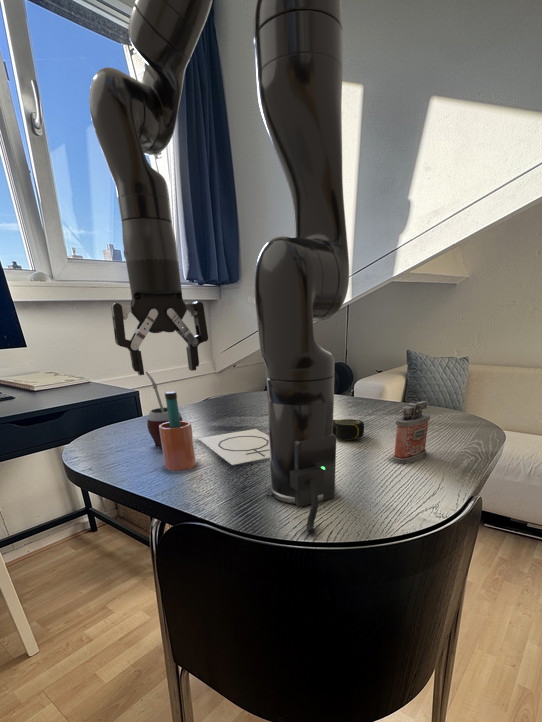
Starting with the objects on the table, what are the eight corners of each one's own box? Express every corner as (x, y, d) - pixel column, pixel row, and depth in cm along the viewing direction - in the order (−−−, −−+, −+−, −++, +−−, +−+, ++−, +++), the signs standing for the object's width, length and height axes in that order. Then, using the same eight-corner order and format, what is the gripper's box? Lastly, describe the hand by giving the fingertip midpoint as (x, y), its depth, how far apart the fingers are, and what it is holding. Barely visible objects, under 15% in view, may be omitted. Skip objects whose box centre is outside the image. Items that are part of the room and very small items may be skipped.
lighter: (404, 464, 72) (409, 408, 68) (388, 460, 75) (392, 405, 70) (429, 454, 77) (436, 400, 73) (414, 450, 79) (419, 398, 75)
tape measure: (361, 433, 91) (362, 417, 89) (365, 442, 85) (366, 425, 83) (330, 434, 91) (330, 417, 90) (332, 443, 85) (332, 425, 83)
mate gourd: (178, 454, 82) (167, 376, 75) (141, 453, 83) (128, 376, 77) (191, 443, 88) (182, 371, 82) (157, 442, 90) (146, 371, 83)
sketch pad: (299, 453, 80) (299, 450, 79) (232, 467, 74) (231, 464, 73) (255, 430, 96) (255, 428, 95) (198, 440, 90) (197, 437, 90)
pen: (187, 465, 74) (177, 392, 68) (176, 467, 73) (166, 393, 68) (184, 462, 75) (174, 391, 70) (174, 464, 75) (163, 392, 69)
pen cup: (199, 469, 73) (194, 425, 70) (170, 475, 71) (163, 430, 68) (191, 460, 78) (185, 419, 74) (162, 466, 76) (155, 423, 72)
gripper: (104, 255, 55) (126, 379, 62) (206, 257, 61) (216, 371, 67) (98, 260, 61) (119, 373, 68) (191, 262, 67) (202, 366, 74)
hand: (167, 372), depth 68 cm, fingers open, 8 cm apart
